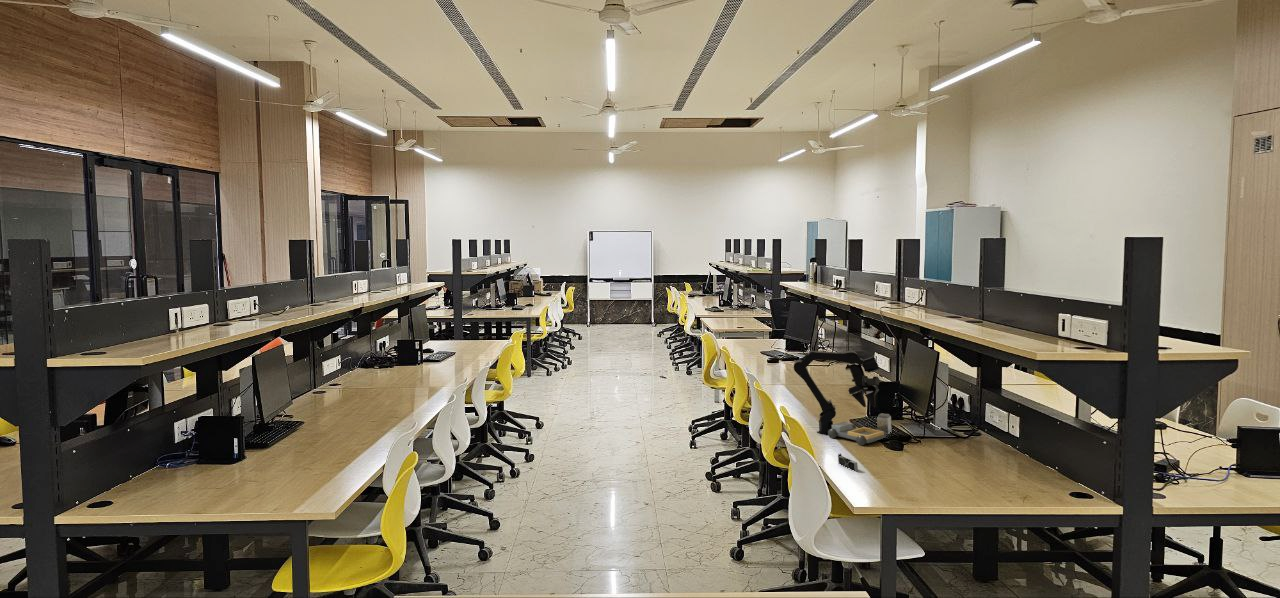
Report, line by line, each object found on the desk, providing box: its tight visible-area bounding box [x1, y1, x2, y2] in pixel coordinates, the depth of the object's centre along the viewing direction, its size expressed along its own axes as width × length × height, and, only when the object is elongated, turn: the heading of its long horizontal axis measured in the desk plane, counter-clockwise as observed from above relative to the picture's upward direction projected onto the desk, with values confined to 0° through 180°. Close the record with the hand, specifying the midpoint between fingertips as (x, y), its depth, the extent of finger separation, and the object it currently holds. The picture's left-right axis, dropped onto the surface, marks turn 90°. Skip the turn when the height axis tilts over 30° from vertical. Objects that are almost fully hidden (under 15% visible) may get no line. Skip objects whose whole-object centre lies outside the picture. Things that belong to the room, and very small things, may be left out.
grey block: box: [876, 412, 892, 434], centre depth 335 cm, size 5×5×10 cm
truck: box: [827, 421, 887, 447], centre depth 332 cm, size 23×15×6 cm, turn 33°
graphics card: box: [837, 453, 859, 472], centre depth 291 cm, size 12×3×5 cm, turn 18°
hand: (869, 406), depth 333 cm, fingers open, 9 cm apart
